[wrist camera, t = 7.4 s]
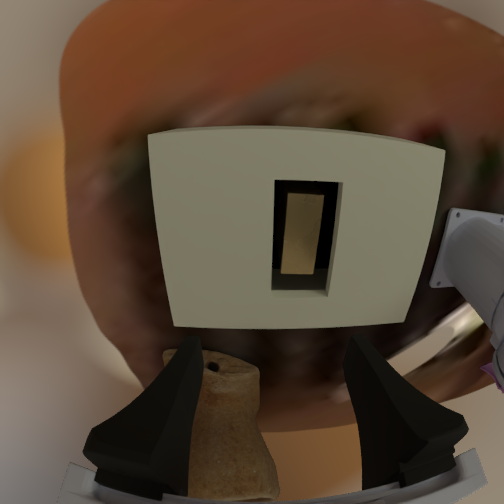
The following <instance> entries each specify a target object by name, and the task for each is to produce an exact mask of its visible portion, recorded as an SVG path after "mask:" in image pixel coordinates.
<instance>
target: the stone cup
mask: <svg viewBox="0 0 504 504" xmlns="http://www.w3.org/2000/svg"><path fill="white" fill-rule="evenodd" d="M176 351H177V349H168V350H166V351H164V353H163V362H164V366H166V365H167V363H168V362H169V361H170V359H171V358H172V357H173V355H174V354H175V352H176ZM202 354H203V360H204V371H203V380H202V386H201V390H200V395H199V399H198V403H197V408H196V412H195V416H194V421H193V427H192V435H191V445H190V457H189V475H188V496H187V497H190V498H198V499H208V500H219V501H237V502H272V501H274V500H276V499H277V498H278V497H279V494H280V487H279V483H278V477H277V471H276V466H275V463H274V461H273V459H272V457H271V455H270V453H269V451H268V448H267V446H266V444H265V442H264V440H263V437H262V435H261V433H260V430H259V428H258V426H257V423H256V420H255V417H256V415H257V413H258V410H259V406H260V387H259V379H260V373H259V369H258V368H257V367H256V366H254V365H252V364H249V363H247V362H245V361H243V360H241V359H238V358H235V357H232V356H230V355H227V354H223V353H220V352H216V351H208V350H202Z"/></svg>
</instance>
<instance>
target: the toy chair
mask: <svg viewBox="0 0 504 504" xmlns="http://www.w3.org/2000/svg"><path fill="white" fill-rule="evenodd" d="M480 369H481V370H483V371H485V372H487V373H488V374H489V375H491V376H492V377H493V379H494V380H495V383H496V385H497V387H498V389H500V390H501V391H502V393H504V389H503V388H502V386H501V385H500V383H499V382H498V380H497V378H496V376H495V373H494V370H493V365H492V363H489V364H487V365H484V366H481V367H480Z"/></svg>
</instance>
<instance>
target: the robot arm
mask: <svg viewBox="0 0 504 504" xmlns="http://www.w3.org/2000/svg"><path fill="white" fill-rule="evenodd" d="M457 213H458V215H457V216H456V214H457ZM429 284H430V286H431V287H432V288H440V287H453V286H455V288H456V289H457V290H458V291H459V292H460V293H461V294H462V296H463V297H464V298H465V299H466V300H467V301H468V303H469V304H470V305H471V306H472V307H473V309H474V310H475V311H476V312H477V313H478V315H479V316H480V317H481V318H482V320H483V321H484V322H485V323H486V325H487V326H488V327H489V329H490V330H491V331H492V337H491V339H490V343H491V344H492V345H493V347H494V348H495V352H494V354H493V358H492V365H493V370H494V373H495V376H496V378H497V380H498V382H499V383H500V385H501V386H502V388H503V389H504V215H502V214H496V213H489V212H482V211H474V210H467V209H459V208H451V209H450V210H449V213H448V217H447V222H446V226H445V230H444V234H443V238H442V242H441V246H440V250H439V253H438V257H437V260H436V263H435V267H434V270H433V273H432V276H431V279H430V283H429ZM343 368H344V375H345V381H346V384H347V388H348V391H349V395H350V398H351V402H352V405H353V408H354V412H355V415H356V419H357V424H358V431H359V438H360V446H361V457H362V491H358V492H353V493H348V494H342V495H336V496H330V497H324V498H315V499H306V500H294V501H279V502H278V501H277V502H237V501H219V500H208V499H198V498H190V497H187V496H188V475H189V457H190V445H191V435H192V427H193V421H194V416H195V412H196V408H197V403H198V399H199V395H200V390H201V386H202V380H203V371H204V360H203V354H202V347H201V340H200V336H190V335H187V336H186V337H185V338H184V340H183V341H182V343H181V345H180V346H179V348H178V349H177V351H176V352H175V354H174V355H173V357H172V358H171V359H170V361H169V362H168V363H167V365H166V366H165V368H164V369H163V370H162V371H161V372H160V374H159V375H158V376H157V377H156V378H155V380H154V381H153V382H152V383H151V384H150V385H149V386H148V387H147V388H146V389H145V390H144V391H143V392H142V393H141V394H140V395H139V396H138V397H137V398H136V399H135V400H133V401H132V402H131V403H130V404H129V405H128V406H126V407H125V408H124V409H122V410H121V411H120V412H118V413H117V414H115V415H114V416H112V417H111V418H109V419H108V420H106V421H104V422H102V423H101V424H99V425H97V426H96V427H94V428H92V430H91V432H90V433H89V435H88V438H87V440H86V443H85V446H84V449H83V454H84V456H85V457H86V458H87V459H88V460H90V461H91V462H92V463H93V464H94V465H95V466H97V467H98V469H97V472H94V471H92V470H90V469H88V468H85V467H82V466H79V465H77V464H74V463H71V462H70V463H69V465H68V468H67V471H66V474H65V477H64V480H63V483H62V487H61V490H60V493H59V497H58V500H57V503H58V504H453V503H455V502H457V501H459V500H461V499H462V498H465V497H466V496H468V495H470V494H472V493H473V492H475V491H477V490H479V489H480V488H482V487H483V486H485V485H487V479H486V476H485V474H484V471H483V468H482V465H481V462H480V460H479V457H478V454H477V452H476V449H475V448H472V449H470V450H468V451H466V452H464V453H462V454H460V455H458V456H456V457H455V458H454V456H453V453H454V452H455V449H454V445H455V444H456V443H458V442H459V441H460V440H461V439H462V438H463V437H464V436H465V435H466V434H467V432H468V430H469V428H468V426H467V424H466V421H465V419H464V417H463V415H461V414H459V413H457V412H454V411H452V410H450V409H447V408H445V407H444V406H442V405H440V404H438V403H437V402H435V401H433V400H432V399H430V398H429V397H427V396H426V395H424V394H423V393H421V392H420V391H419V390H417V389H416V388H415V387H413V386H412V385H411V384H410V383H409V382H407V381H406V380H405V379H404V378H403V377H402V376H401V375H400V374H399V373H398V372H397V371H395V370H394V368H393V367H392V366H391V365H390V364H389V363H388V362H387V361H386V360H385V359H384V358H383V357H382V356H381V354H380V353H379V352H378V351H377V350H376V349H375V348H374V346H373V345H372V344H371V343H370V342H369V341H368V339H367V338H366V337H365V336H364V335H352V337H351V340H350V343H349V346H348V349H347V352H346V355H345V358H344V361H343Z"/></svg>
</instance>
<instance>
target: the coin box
mask: <svg viewBox="0 0 504 504" xmlns="http://www.w3.org/2000/svg"><path fill="white" fill-rule="evenodd" d="M148 147H149V161H150V173H151V184H152V193H153V202H154V211H155V219H156V226H157V233H158V240H159V247H160V253H161V260H162V266H163V272H164V277H165V283H166V288H167V293H168V299H169V304H170V308H171V313H172V318H173V323H174V326H182V327H201V328H231V329H297V328H327V327H346V326H362V325H375V324H387V323H397V322H404V320H405V317H406V314H407V312H408V309H409V306H410V303H411V300H412V298H413V295H414V292H415V289H416V285H417V282H418V279H419V276H420V273H421V269H422V266H423V262H424V259H425V255H426V252H427V248H428V244H429V240H430V236H431V232H432V227H433V223H434V218H435V213H436V208H437V203H438V198H439V192H440V186H441V180H442V173H443V165H444V157H445V150H442V149H439V148H435V147H432V146H428V145H424V144H421V143H417V142H413V141H409V140H405V139H400V138H395V137H389V136H382V135H376V134H369V133H361V132H353V131H344V130H333V129H322V128H308V127H288V126H216V127H196V128H182V129H175V130H169V131H164V132H159V133H155V134H150V135H148ZM274 180H306V181H328V182H339V184H338V196H337V206H336V215H335V224H334V232H333V240H332V248H331V255H330V263H329V269H314V271H313V274H281V271H280V269H272V248H273V217H274Z"/></svg>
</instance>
